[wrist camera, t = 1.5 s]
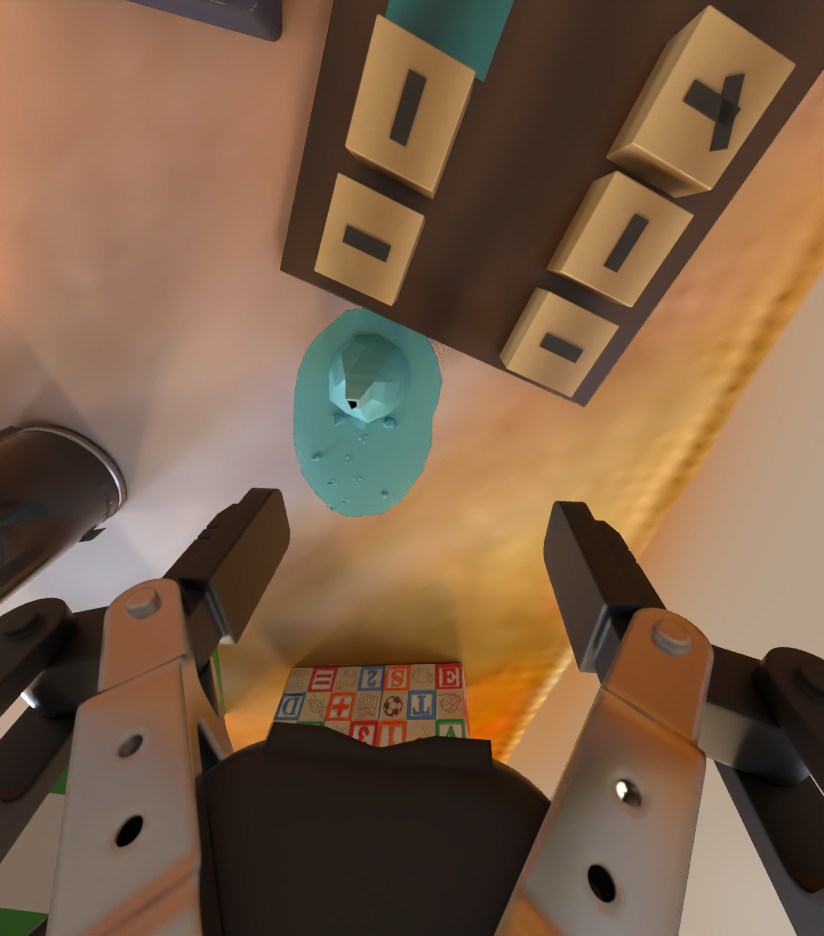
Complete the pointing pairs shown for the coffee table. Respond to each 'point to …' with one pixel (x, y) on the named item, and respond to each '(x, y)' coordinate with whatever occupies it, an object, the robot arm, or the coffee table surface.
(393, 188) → the letter board
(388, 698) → the stack of blocks
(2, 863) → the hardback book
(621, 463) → the coffee table surface
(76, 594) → the coffee table surface
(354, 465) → the diorama
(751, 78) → the tan cross-marked cube
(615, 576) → the robot arm
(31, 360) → the coffee table surface
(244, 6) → the calculator
